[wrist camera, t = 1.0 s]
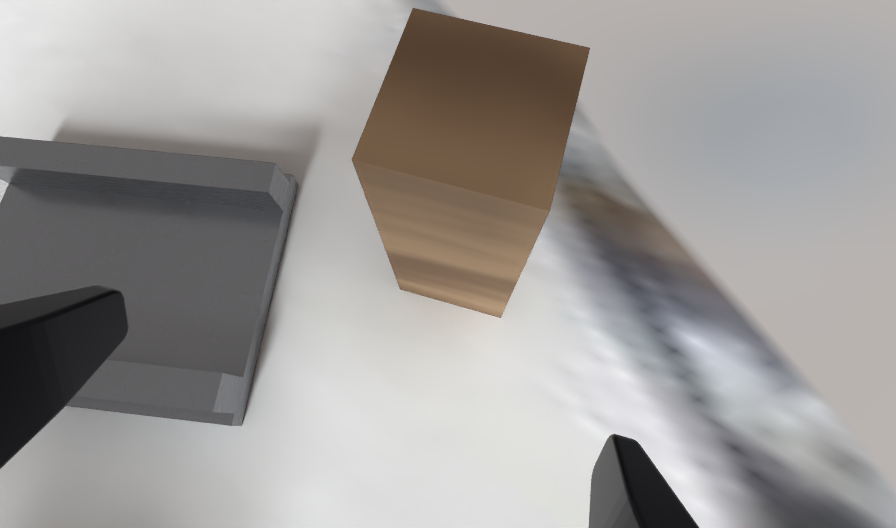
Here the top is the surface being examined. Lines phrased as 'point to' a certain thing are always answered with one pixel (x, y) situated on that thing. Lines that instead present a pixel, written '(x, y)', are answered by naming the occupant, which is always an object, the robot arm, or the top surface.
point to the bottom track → (152, 264)
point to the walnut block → (467, 154)
